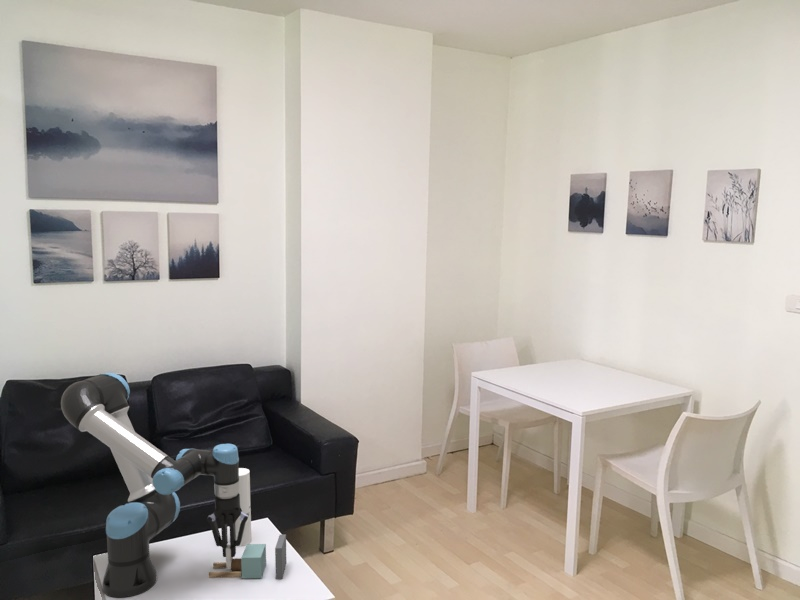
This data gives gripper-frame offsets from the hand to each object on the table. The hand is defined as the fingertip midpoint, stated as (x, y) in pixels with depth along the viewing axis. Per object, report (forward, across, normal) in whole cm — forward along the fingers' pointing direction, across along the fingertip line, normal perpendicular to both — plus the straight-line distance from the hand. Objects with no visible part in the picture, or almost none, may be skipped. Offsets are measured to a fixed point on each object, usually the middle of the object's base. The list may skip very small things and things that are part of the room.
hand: (229, 566), depth 203 cm
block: (+2, +8, 0) cm, 8 cm away
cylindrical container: (+2, -1, +20) cm, 20 cm away
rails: (+2, -1, 0) cm, 2 cm away
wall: (+2, +16, 0) cm, 16 cm away
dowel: (+2, +5, 0) cm, 5 cm away
